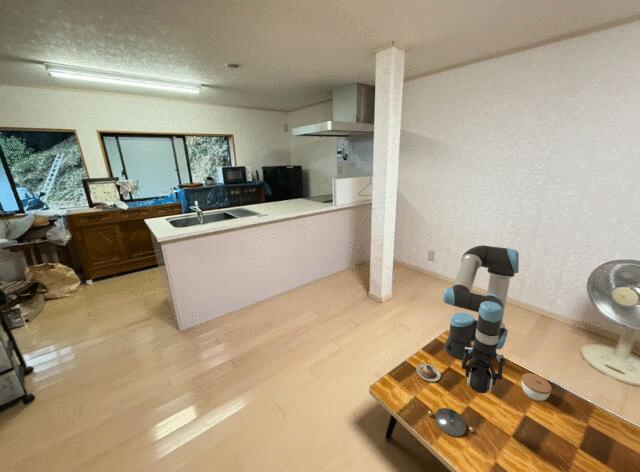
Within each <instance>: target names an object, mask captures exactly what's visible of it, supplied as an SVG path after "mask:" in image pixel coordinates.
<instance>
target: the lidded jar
mask: <svg viewBox="0 0 640 472" xmlns="http://www.w3.org/2000/svg"><path fill="white" fill-rule="evenodd" d="M521 388H522V390H523V392H524V394H525V395H526V396H527V397H528V398H529V399H531V400H533V401H536V402H542V401H546V400H547V399H548V398H550V395H551V392H552V390H553V388H552V385H551V383H550V382H549V381H547V379H545V378H544V377H542V376H539V375H537V374H534V373H527V372H526V373H525V374H523V375H522V376H521Z"/></svg>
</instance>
